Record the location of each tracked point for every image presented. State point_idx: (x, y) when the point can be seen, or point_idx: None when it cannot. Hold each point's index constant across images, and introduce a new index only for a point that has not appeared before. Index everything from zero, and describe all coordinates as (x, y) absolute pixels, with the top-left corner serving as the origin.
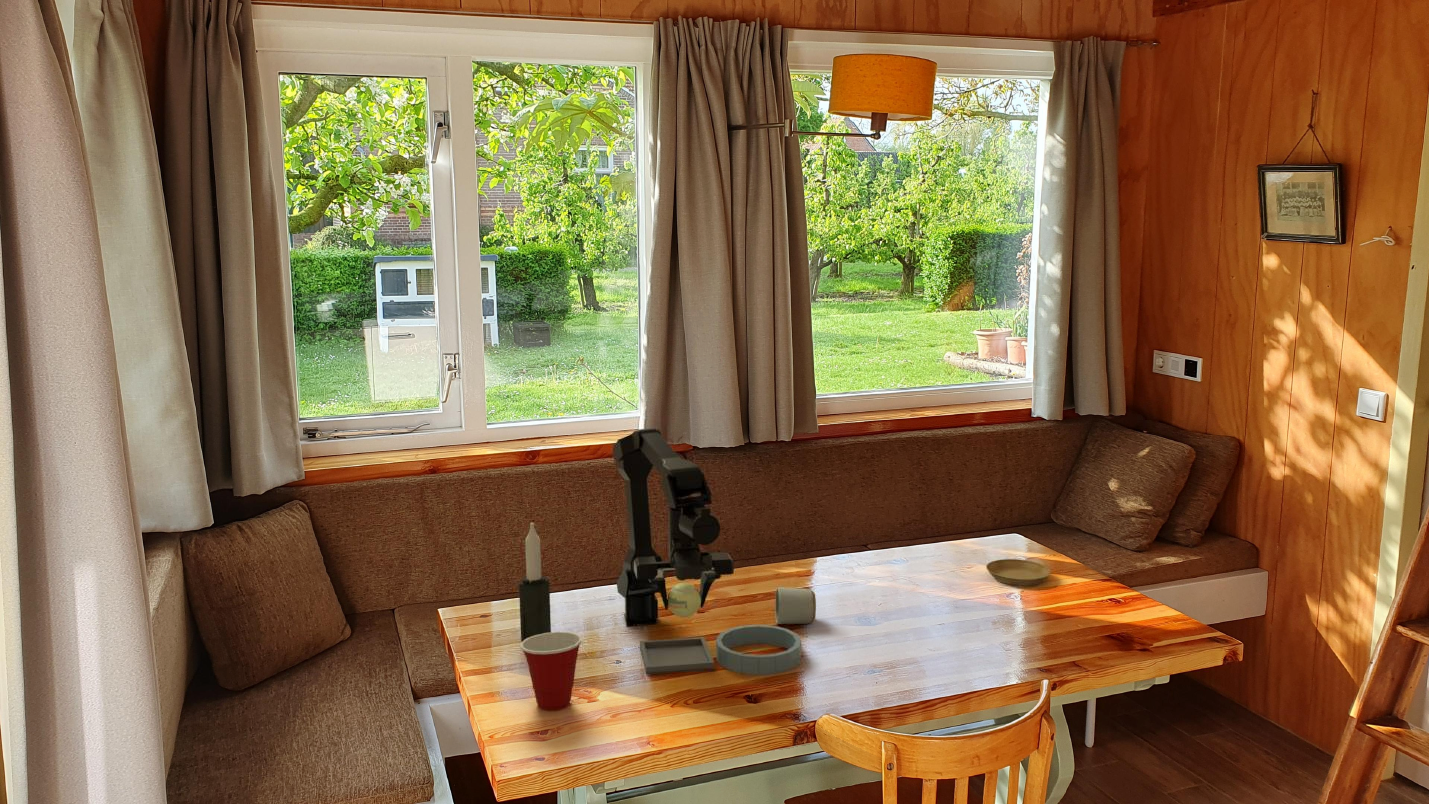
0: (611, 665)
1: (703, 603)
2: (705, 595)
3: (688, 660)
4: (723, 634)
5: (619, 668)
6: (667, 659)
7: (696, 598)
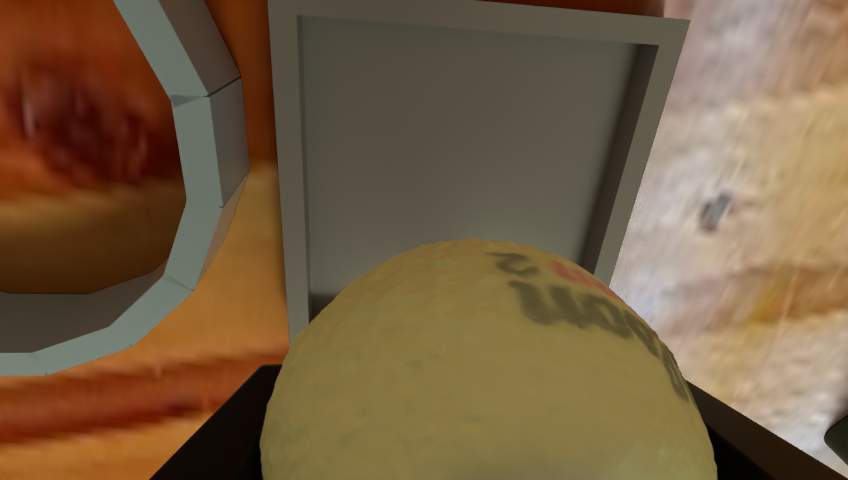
0: (759, 178)
1: (243, 390)
2: (177, 476)
3: (407, 132)
4: (168, 278)
5: (744, 136)
6: (509, 170)
7: (340, 381)
